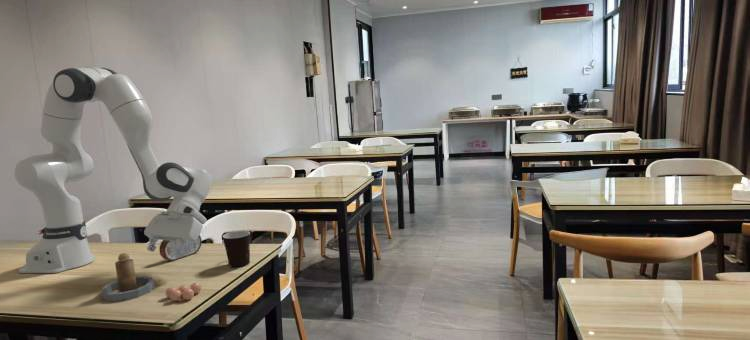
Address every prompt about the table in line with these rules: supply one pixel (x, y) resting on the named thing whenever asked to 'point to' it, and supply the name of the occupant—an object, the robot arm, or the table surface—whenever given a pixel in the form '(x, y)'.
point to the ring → (128, 294)
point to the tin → (181, 252)
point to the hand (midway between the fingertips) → (160, 251)
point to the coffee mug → (237, 248)
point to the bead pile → (183, 292)
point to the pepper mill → (125, 273)
